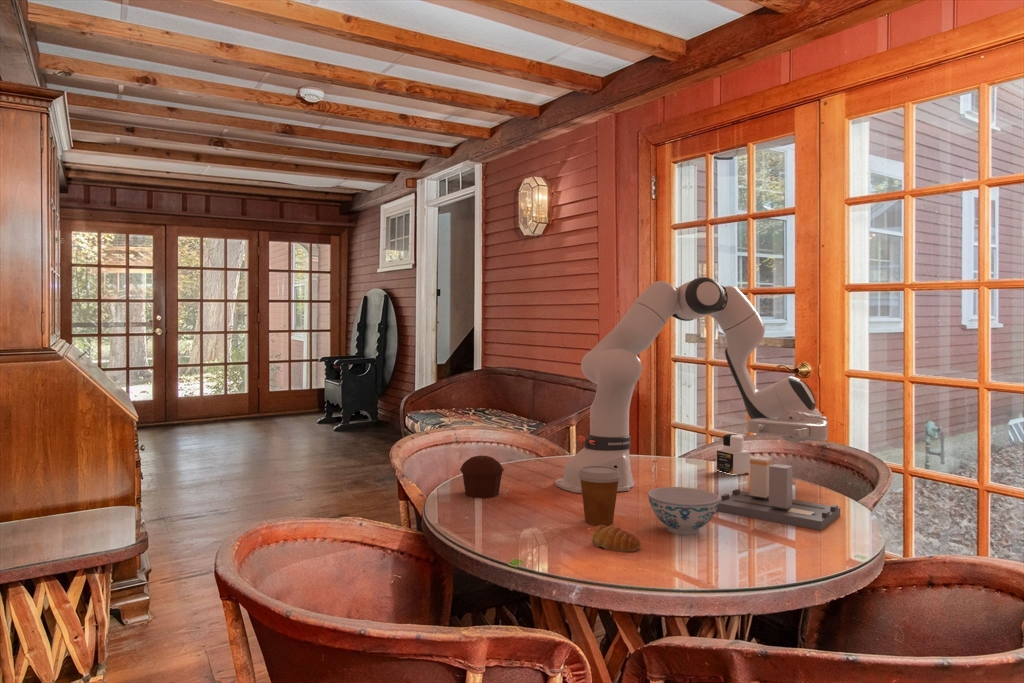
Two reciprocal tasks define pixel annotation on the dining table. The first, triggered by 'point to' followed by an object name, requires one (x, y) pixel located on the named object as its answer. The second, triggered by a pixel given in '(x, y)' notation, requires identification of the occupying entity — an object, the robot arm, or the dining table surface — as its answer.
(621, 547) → the pastry
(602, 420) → the robot arm
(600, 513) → the disposable coffee cup
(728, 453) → the medicine bottle
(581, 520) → the dining table surface
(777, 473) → the fader
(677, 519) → the chinaware
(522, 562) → the dining table surface
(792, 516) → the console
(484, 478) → the muffin
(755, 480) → the block
